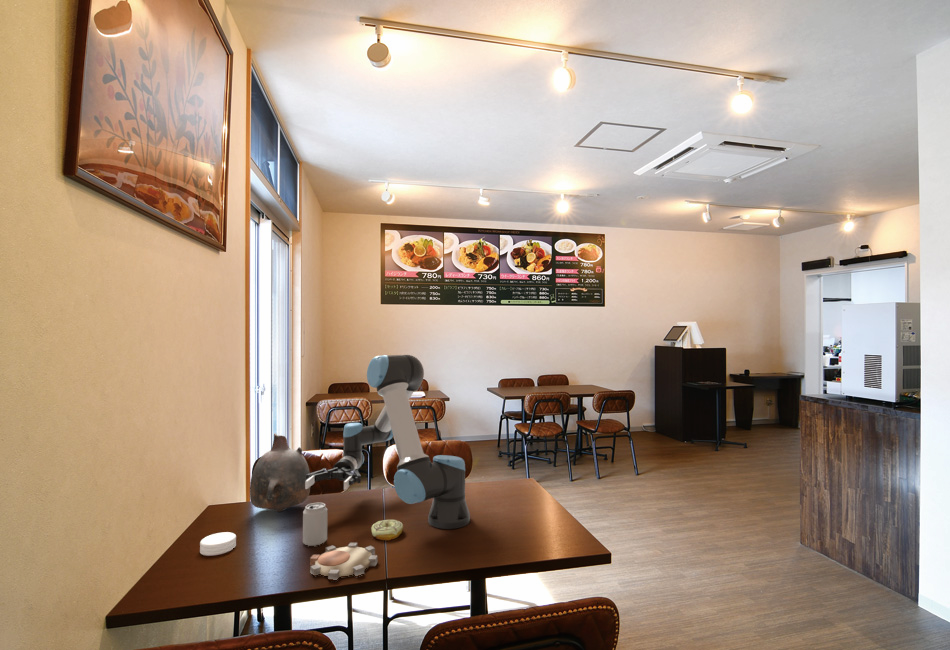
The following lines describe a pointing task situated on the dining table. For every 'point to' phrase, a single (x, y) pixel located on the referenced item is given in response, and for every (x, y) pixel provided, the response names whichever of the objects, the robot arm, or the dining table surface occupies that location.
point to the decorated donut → (387, 529)
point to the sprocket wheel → (343, 561)
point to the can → (314, 524)
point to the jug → (279, 477)
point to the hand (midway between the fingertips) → (325, 485)
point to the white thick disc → (217, 543)
